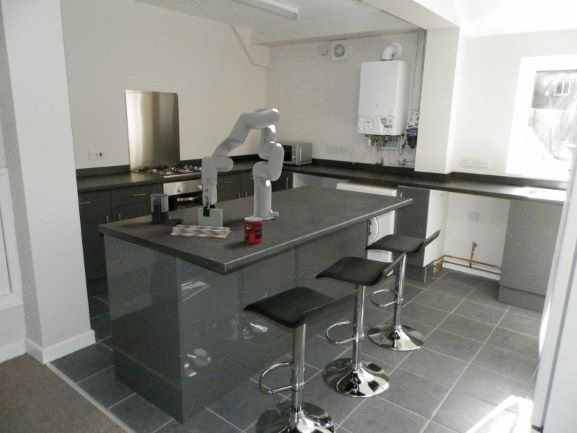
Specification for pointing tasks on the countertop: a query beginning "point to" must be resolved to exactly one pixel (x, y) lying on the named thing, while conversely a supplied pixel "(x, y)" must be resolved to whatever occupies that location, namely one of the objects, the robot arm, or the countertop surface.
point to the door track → (200, 231)
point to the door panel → (211, 218)
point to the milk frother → (161, 209)
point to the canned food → (252, 230)
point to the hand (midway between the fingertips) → (209, 214)
